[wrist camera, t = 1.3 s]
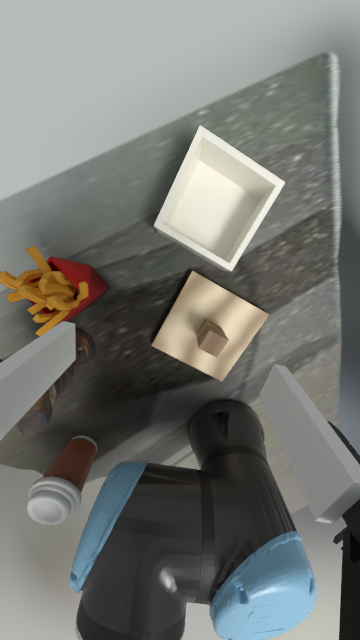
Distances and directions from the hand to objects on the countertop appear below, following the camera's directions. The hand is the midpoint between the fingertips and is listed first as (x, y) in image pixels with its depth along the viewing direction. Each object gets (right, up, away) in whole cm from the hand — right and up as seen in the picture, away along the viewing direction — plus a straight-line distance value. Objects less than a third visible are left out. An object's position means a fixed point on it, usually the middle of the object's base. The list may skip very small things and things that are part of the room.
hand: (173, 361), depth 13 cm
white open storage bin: (+5, +19, +17) cm, 26 cm away
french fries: (-15, +10, +20) cm, 27 cm away
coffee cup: (-22, -26, +31) cm, 46 cm away
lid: (+5, +1, +23) cm, 24 cm away
